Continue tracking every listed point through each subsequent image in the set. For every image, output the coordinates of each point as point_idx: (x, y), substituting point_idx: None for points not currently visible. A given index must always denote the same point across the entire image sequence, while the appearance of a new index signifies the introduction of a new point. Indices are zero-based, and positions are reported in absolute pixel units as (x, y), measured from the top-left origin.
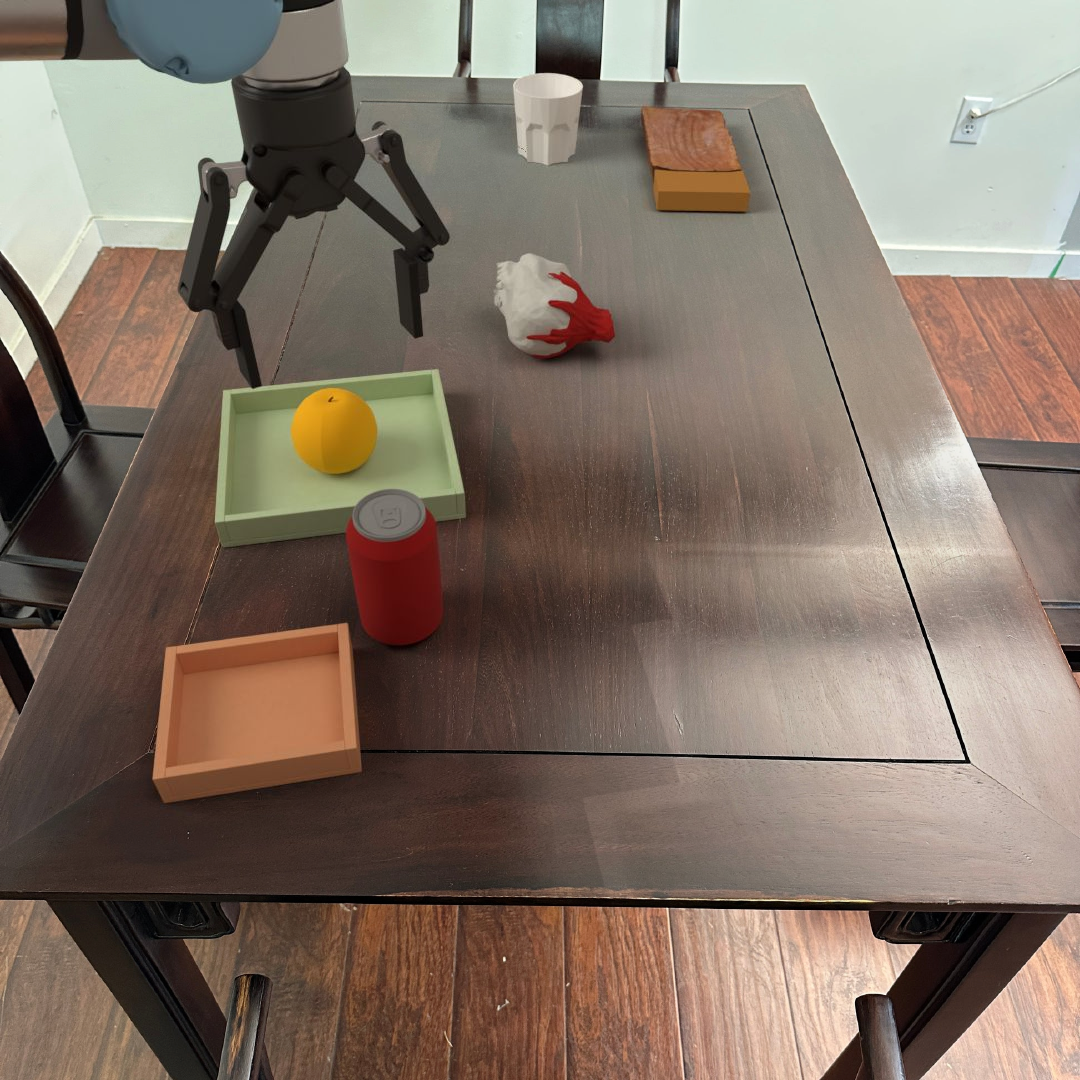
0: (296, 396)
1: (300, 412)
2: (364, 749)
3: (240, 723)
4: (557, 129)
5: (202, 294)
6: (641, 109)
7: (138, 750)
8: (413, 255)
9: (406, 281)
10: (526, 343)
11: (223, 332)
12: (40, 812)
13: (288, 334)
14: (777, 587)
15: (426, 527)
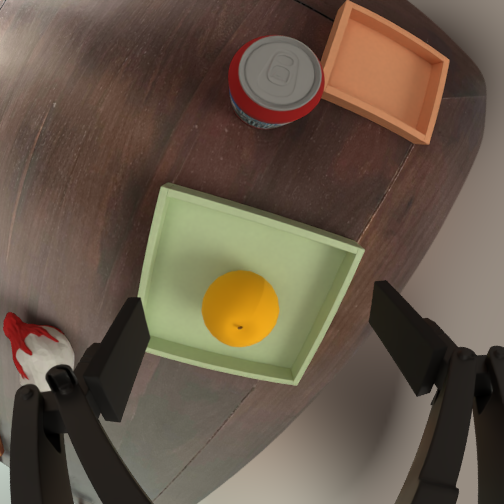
0: (246, 366)
1: (269, 326)
2: (331, 20)
3: (395, 77)
4: None
5: (499, 365)
6: (1, 455)
7: (440, 103)
8: (85, 393)
9: (116, 363)
10: (61, 339)
11: (441, 334)
12: (477, 102)
13: (223, 423)
14: (26, 44)
15: (248, 45)
